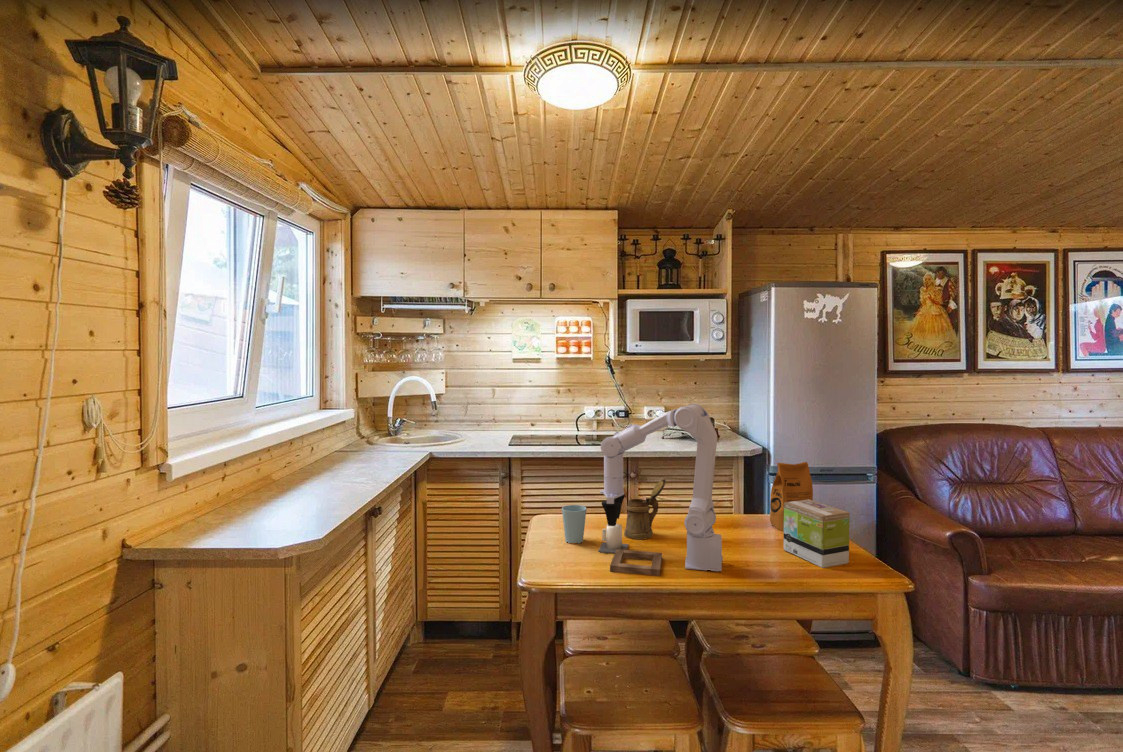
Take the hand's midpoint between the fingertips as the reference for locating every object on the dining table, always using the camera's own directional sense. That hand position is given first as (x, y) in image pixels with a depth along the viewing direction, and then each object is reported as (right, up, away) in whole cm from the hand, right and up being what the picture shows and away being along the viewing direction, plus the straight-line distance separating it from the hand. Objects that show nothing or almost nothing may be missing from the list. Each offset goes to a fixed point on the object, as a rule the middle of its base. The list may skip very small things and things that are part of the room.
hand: (613, 521), depth 164 cm
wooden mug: (+11, -8, +13) cm, 19 cm away
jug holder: (+5, -9, -12) cm, 16 cm away
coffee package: (+61, -8, +21) cm, 65 cm away
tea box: (+57, -9, -7) cm, 58 cm away
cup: (-12, -8, +8) cm, 16 cm away
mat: (0, -8, 0) cm, 8 cm away
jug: (0, -8, 0) cm, 8 cm away
